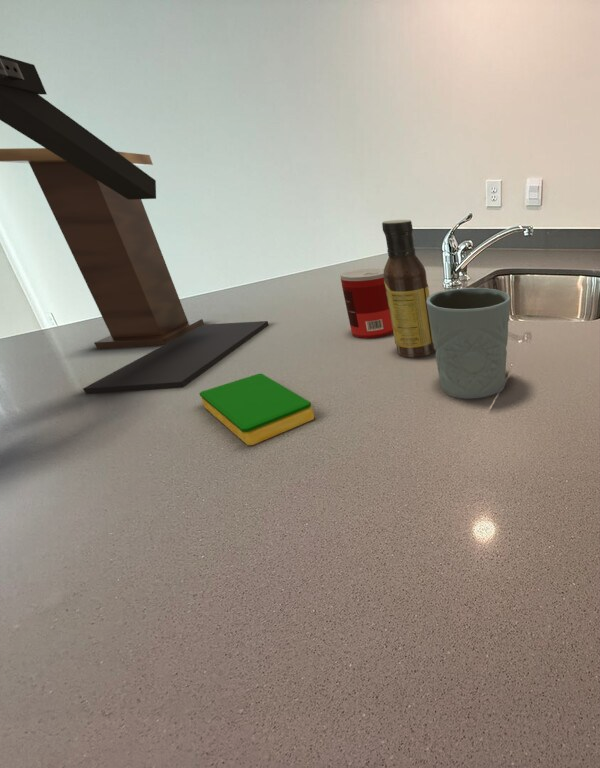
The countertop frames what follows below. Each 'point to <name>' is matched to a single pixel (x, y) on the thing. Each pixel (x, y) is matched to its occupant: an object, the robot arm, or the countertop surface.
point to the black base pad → (179, 359)
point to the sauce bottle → (406, 291)
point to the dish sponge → (257, 408)
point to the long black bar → (73, 143)
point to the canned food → (367, 303)
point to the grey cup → (470, 340)
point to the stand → (111, 251)
